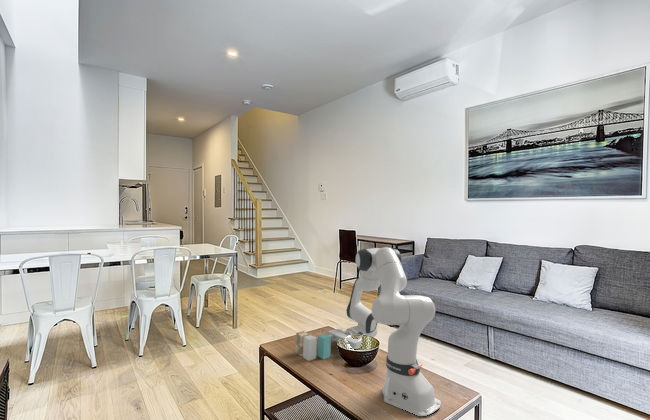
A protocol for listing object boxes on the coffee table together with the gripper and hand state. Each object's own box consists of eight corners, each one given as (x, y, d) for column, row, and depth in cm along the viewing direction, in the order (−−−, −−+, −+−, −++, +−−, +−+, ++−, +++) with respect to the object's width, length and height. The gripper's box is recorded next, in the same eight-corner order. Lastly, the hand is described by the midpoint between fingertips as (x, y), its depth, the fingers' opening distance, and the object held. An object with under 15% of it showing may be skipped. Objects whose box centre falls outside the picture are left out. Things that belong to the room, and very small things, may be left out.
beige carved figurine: (308, 353, 165) (309, 333, 165) (301, 356, 162) (301, 335, 162) (302, 350, 169) (303, 331, 169) (295, 353, 166) (296, 333, 166)
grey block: (316, 358, 161) (316, 337, 161) (308, 361, 158) (309, 339, 158) (310, 355, 164) (310, 334, 164) (302, 357, 161) (303, 336, 161)
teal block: (330, 356, 163) (330, 336, 163) (323, 359, 160) (324, 338, 160) (324, 353, 166) (324, 333, 166) (317, 356, 163) (317, 335, 163)
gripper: (339, 324, 184) (320, 330, 175) (367, 336, 168) (347, 342, 159) (339, 336, 184) (319, 342, 175) (366, 348, 168) (347, 356, 159)
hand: (333, 342), depth 167 cm, fingers open, 8 cm apart
